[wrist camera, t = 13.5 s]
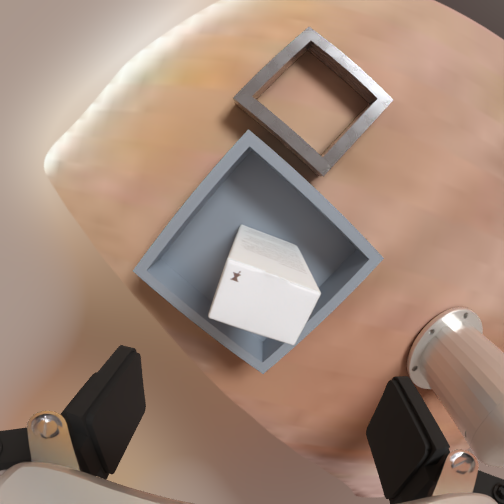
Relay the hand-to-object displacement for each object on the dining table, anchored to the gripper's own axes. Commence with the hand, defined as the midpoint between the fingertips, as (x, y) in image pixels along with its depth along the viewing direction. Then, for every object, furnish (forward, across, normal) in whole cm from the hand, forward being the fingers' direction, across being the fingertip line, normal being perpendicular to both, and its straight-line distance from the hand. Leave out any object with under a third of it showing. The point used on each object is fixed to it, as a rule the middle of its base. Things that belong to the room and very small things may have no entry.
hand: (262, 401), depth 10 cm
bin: (+21, +1, 0) cm, 21 cm away
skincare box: (+20, 0, 0) cm, 20 cm away
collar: (+21, -3, -16) cm, 27 cm away
